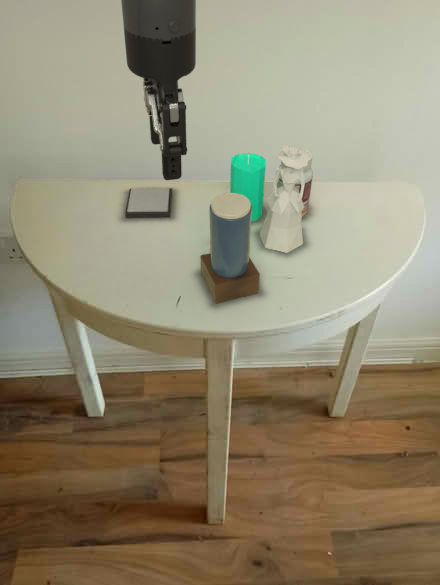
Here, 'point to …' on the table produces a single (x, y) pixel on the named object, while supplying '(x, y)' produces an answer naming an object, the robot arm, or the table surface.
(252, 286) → the block
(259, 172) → the candle
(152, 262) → the table surface
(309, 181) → the pill bottle
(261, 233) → the figurine
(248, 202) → the canister
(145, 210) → the scale
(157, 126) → the robot arm
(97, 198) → the table surface
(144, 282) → the table surface
